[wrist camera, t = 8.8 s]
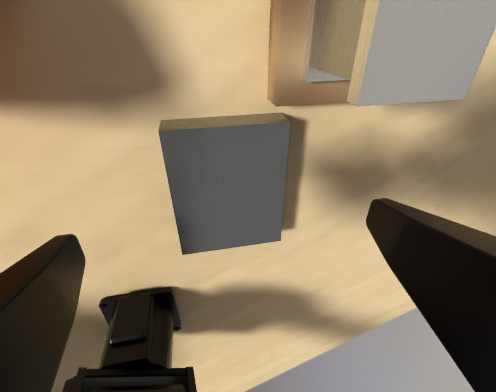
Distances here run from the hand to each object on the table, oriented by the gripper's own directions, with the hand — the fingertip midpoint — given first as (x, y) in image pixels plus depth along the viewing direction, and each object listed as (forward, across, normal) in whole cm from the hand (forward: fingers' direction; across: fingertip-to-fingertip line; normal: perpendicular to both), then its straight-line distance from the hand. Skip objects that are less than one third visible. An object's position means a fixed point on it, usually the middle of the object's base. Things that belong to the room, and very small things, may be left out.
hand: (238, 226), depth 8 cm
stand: (+12, -1, +5) cm, 13 cm away
